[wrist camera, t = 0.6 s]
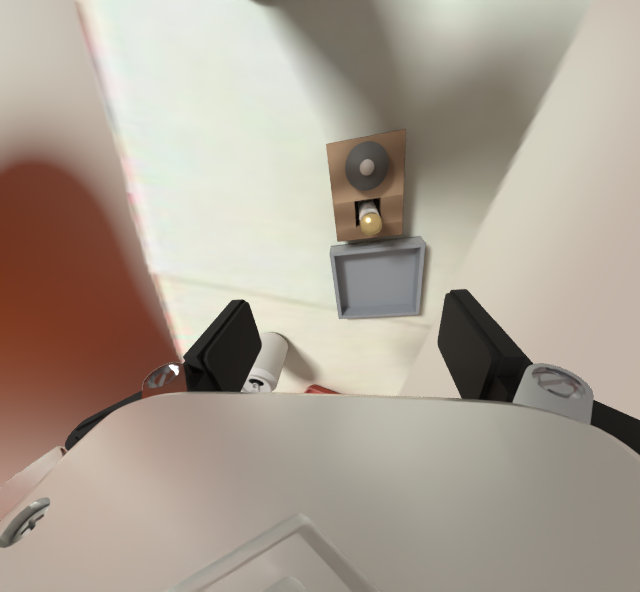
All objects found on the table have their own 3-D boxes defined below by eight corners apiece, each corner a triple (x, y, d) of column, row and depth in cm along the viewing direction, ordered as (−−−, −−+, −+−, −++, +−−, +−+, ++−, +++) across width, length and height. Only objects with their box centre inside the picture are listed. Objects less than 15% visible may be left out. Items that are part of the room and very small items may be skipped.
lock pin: (357, 199, 34) (359, 215, 25) (374, 196, 33) (382, 212, 25) (358, 215, 35) (361, 236, 27) (374, 213, 34) (382, 234, 26)
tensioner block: (328, 144, 30) (324, 143, 25) (399, 131, 29) (410, 127, 24) (338, 233, 37) (336, 247, 31) (397, 226, 35) (405, 239, 30)
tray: (331, 246, 38) (329, 252, 35) (420, 236, 36) (425, 242, 33) (339, 309, 45) (338, 318, 42) (414, 304, 42) (419, 314, 40)
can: (292, 335, 50) (277, 382, 40) (285, 357, 54) (271, 404, 44) (258, 325, 49) (235, 370, 39) (254, 348, 54) (232, 394, 44)
